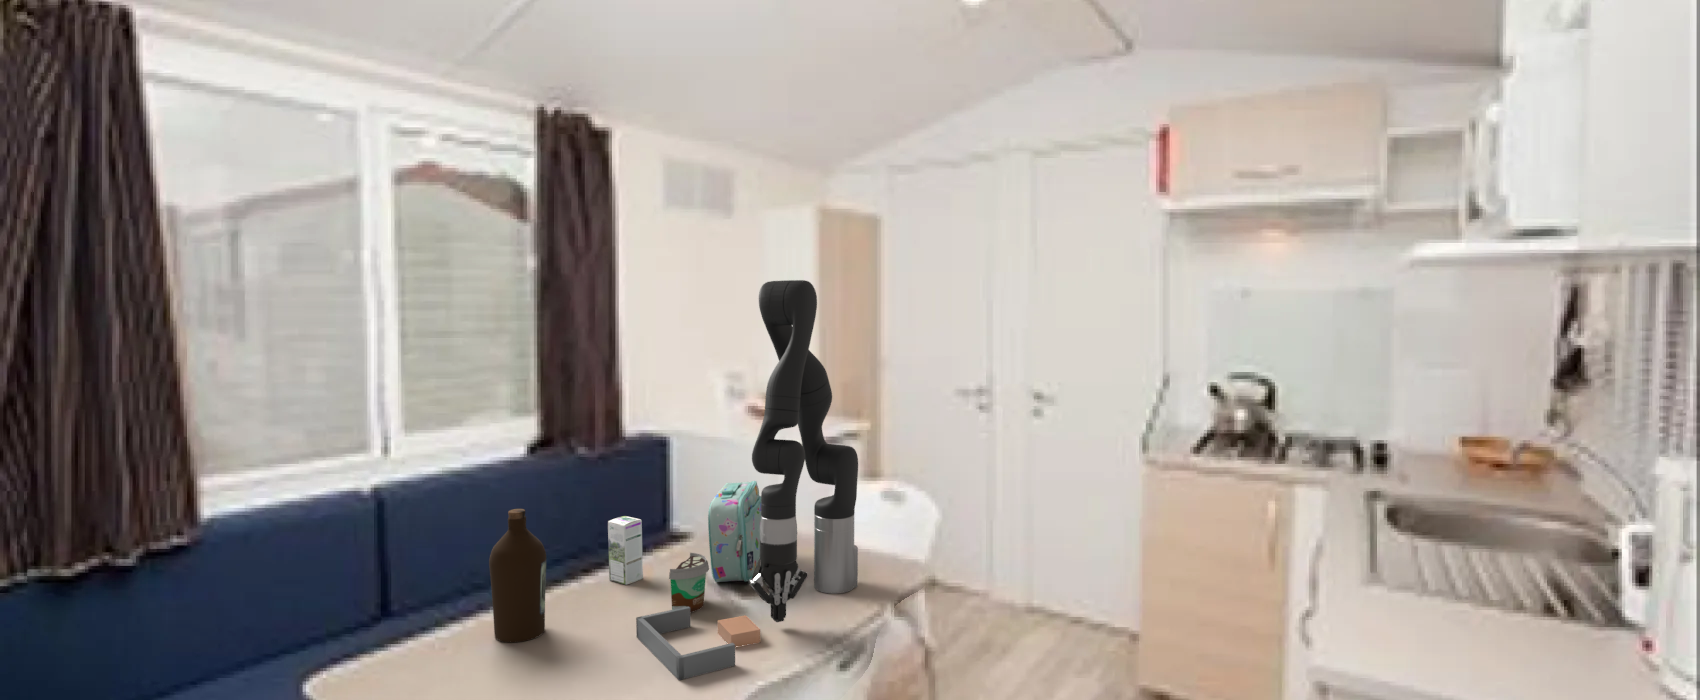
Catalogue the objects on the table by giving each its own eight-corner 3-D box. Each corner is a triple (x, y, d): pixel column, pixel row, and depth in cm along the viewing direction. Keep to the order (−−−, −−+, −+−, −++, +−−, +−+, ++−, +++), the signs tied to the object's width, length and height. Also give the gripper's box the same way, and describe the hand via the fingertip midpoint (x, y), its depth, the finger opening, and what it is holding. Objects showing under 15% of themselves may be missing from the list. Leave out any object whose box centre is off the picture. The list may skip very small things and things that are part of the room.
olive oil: (493, 648, 168) (489, 520, 165) (489, 628, 177) (486, 507, 175) (551, 638, 172) (548, 514, 170) (544, 619, 182) (541, 501, 180)
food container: (696, 618, 183) (696, 571, 182) (669, 616, 184) (668, 569, 183) (717, 597, 195) (717, 553, 194) (691, 595, 196) (691, 551, 195)
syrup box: (643, 578, 207) (643, 518, 205) (625, 585, 202) (624, 524, 200) (626, 573, 210) (626, 514, 208) (607, 581, 205) (606, 520, 203)
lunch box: (751, 590, 199) (751, 498, 197) (706, 590, 199) (705, 498, 198) (764, 553, 226) (764, 472, 224) (724, 553, 226) (724, 471, 224)
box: (688, 625, 179) (688, 606, 179) (735, 665, 161) (735, 644, 160) (636, 636, 173) (636, 617, 173) (678, 680, 155) (678, 658, 154)
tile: (745, 629, 178) (745, 615, 178) (760, 644, 171) (760, 629, 171) (717, 634, 175) (717, 620, 175) (731, 650, 168) (731, 635, 168)
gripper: (797, 527, 183) (797, 608, 185) (740, 537, 176) (740, 621, 177) (816, 536, 177) (815, 620, 178) (757, 547, 170) (757, 633, 171)
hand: (778, 620), depth 178 cm, fingers closed
